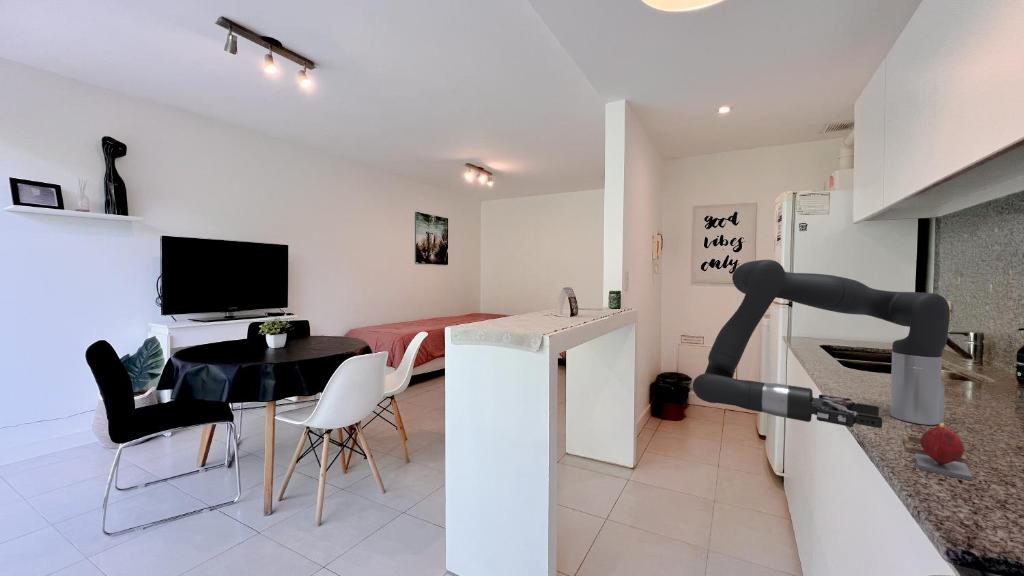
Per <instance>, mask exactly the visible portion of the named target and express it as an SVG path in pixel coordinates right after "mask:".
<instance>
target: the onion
mask: <svg viewBox="0 0 1024 576" xmlns="http://www.w3.org/2000/svg"><path fill="white" fill-rule="evenodd" d="M947 426H948V425H947V424H945V423H944V422H943V423H939V424H938V425H937V426H936V427H934V428H930V429H928V430H927V431H925V432H924V433H923V434H922V435H921V437H920V438H921V443H920V446H921V449H923V450H924V451H925V453H926V454H927V455H928V456H929V457H931V458H932V459H933V460H935V461H936V462H938V463H939V464H947V463H950V462H954V461H956V460H958V459H960V458H961V457H962V455H963V453H964V454H965V446H964V443H963V440H962V439H961V438H960V437H959V436H958V435H957V434H956V433H954V432H953V431H952V430H950V429H948V428H947Z"/></svg>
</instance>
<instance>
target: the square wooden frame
mask: <svg viewBox="0 0 1024 576" xmlns="http://www.w3.org/2000/svg"><path fill="white" fill-rule="evenodd" d="M902 441H903V445H904V448H905V452H906V451H907V452H906V453H911V452H912V453H911V454H915V453H917V454H922V455H927V454H926V453H925V451H924V450H923V448H919V447H913V446H911V444H910V442H913V443H916V444H921V437H916V436H911V435H906V434H903V435H902ZM927 456H928V455H927ZM968 461H969V459H968V457H967V455H966V454H965V452H964V453H963V455H962V457H961V458H960V459H958V460H956V462H961V463H965V464H966V465H968V463H969V462H968Z"/></svg>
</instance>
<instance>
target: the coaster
mask: <svg viewBox="0 0 1024 576" xmlns="http://www.w3.org/2000/svg"><path fill="white" fill-rule="evenodd" d="M914 457H915V458H914V459H915V462H916V464H917V465H916V466H917V469H918V470H922V471H926V472H931V473H935V474H940V475H944V476H948V477H953V478H958V479H961V480H967V481H971V482H973V481H974V479H973V478H974V476H973V474H972V473H971V471H970V469H969V468H968V466H967V464H965V463H961V462H956V461H954V462H950V463H947V464H939V463H938V462H936V461H935V460H933V459H932V458H931V457H929V456H927V455H922V454H917V453H914Z"/></svg>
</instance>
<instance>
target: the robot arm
mask: <svg viewBox="0 0 1024 576" xmlns="http://www.w3.org/2000/svg"><path fill="white" fill-rule="evenodd" d="M731 281H732V283H733V285H734V287H735V288H736V289H737V290H738V291H739V292H740V293H741V294H743V295H744V297H743V299H742V302H741V304H740V305H739V306H738V308H737V309H736V311H735V312H734V314H732V315H731V317H730V318H729V319H728V321H727V322H726V323H725V324H724V325H723V326H722V327H721V329H720V331H719V332H718V334H717V336H716V338H715V340H714V342H713V344H712V346H711V349H710V351H709V353H708V356H707V359H708V361H707V363H708V364H707V367H706V369H705V371H704V373H702V374H699V375H698V376H696V377H695V378H694V379H693V382H692V390H693V392H694V394H695V396H696V397H697V398H698V399H700V400H701V401H703V402H705V403H708V404H709V403H711V404H721V405H728V406H729V405H730V406H734V407H739V408H741V409H744V410H749V411H754V412H758V413H764V414H768V415H772V416H775V417H781V418H785V419H790V420H795V421H796V420H797V421H802V422H807V423H810V422H811V421H812V419H813V418H812V416H813V415H814V416H816V421H819V422H823V423H830V424H834V425H839V426H844V427H849V428H854V426H857V425H859V426H866V427H870V428H876V429H882V428H883V418H882V417H881V416H879V415H880V413H879V412H880V410H879V407H878V406H877V405H872V404H866V403H860V402H856V401H854V400H852V399H851V398H849V397H841V396H834V395H827V394H826V395H825V394H823V393H822V394H818V398H817V397H814V396H813V394H814V393H813V389H811V388H810V387H804V386H803V387H802V386H797V385H791V384H790V385H789V384H784V383H776V382H772V383H771V382H763V381H762V382H761V381H757V380H756V381H755V380H746V379H738V378H734V376H735V372H736V369H737V367H738V365H739V364H740V361H741V359H742V357H743V354H744V353H745V350H746V348H747V345H748V343H749V341H750V339H751V337H752V335H753V333H754V331H755V330H756V328H757V326H758V325H759V323H760V322H761V320H762V319H763V317H764V316H765V314H766V313H767V311H768V310H769V308H770V306H771V305H772V303H773V302H774V301H775V299H781V300H786V301H790V302H793V303H797V304H800V305H803V306H806V307H807V306H808V307H812V308H816V309H820V310H824V311H829V312H835V313H839V314H840V313H841V314H847V315H862V316H863V315H864V316H869V317H872V318H876V319H879V320H883V321H886V322H888V323H892V324H893V325H894V324H896V325H899V326H902V327H909V332H908V334H907V336H906V337H903V338H900V339H896V340H894V341H893V342H892V347H891V350H892V351H891V370H890V371H891V373H890V374H891V375H890V377H891V379H890V400H889V402H890V403H889V407H890V408H889V415H890V417H892V418H895V419H897V420H901V421H904V422H908V423H913V424H919V425H929V426H936V425H937V426H938V425H939V423H944V415H945V414H944V411H945V410H944V408H945V389H946V388H945V386H944V385H942V364H943V362H942V361H943V360H942V359H943V351H944V348H945V347H946V345H947V342H948V336H949V335H948V334H949V327H950V318H951V309H950V305H949V302H948V301H947V299H946V298H945V297H944V296H942V295H940V294H938V293H934V292H933V293H932V292H918V291H917V292H915V291H913V292H912V291H892V290H882V289H876V288H872V287H870V286H868V285H866V284H864V283H862V282H860V281H858V280H855V279H852V278H847V277H843V276H838V275H834V274H833V275H832V274H823V273H810V272H809V273H807V272H805V273H804V272H788V271H785V268H784V267H783V266H782V264H780V263H779V262H778V261H776V260H773V259H759V260H752V261H747V262H743V263H742V264H741V265H739V266H737V268H735V269H734V271H733V272H732V280H731Z"/></svg>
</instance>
